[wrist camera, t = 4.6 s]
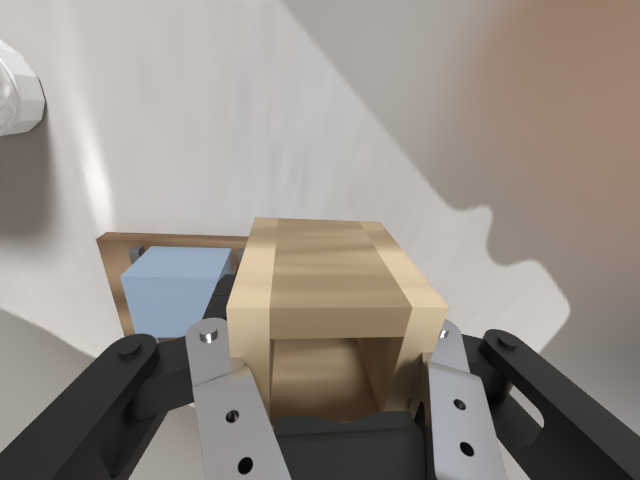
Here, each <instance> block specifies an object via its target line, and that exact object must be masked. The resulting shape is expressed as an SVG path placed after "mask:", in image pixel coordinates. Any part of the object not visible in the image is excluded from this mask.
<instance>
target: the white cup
mask: <svg viewBox="0 0 640 480" xmlns="http://www.w3.org/2000/svg"><path fill="white" fill-rule="evenodd" d="M44 105H45V98H44V95H43V92H42V89H41V85H40V82H39V79H38V77H37V75H36V74H35V73H34V71H33V70H32V69H31V67H30V66H29V65H28V63H27V62H26V61H25V59H24V58H23V57H22V55H21V54H20V53H18V52H17V51H16V50H14V49H13V48H12V47H10V46H9V45H7V44H6V43H5V42H3V41H2V40H1V39H0V136H5V135H12V134H18V133H24V132H29V131H30V130H31V129H32V128H33V127H34V126H35V125H37V124H38V123H39V122H40V121H41V120H42V116H43V110H44Z"/></svg>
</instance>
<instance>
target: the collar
mask: <svg viewBox="0 0 640 480" xmlns="http://www.w3.org/2000/svg"><path fill="white" fill-rule="evenodd" d="M448 309H449V306H448V305H447V304H446V303H445V301H444V300H443V299H442V298H441V297H440V295H439V294H438V293H437V292H436V290H435V289H434V288H433V287H432V286H431V284H430V283H429V282H428V281H427V279H426V278H425V277H424V276H423V275H422V273H421V272H420V271H419V270H418V268H417V267H416V266H415V265H414V263H413V262H412V261H411V260H410V259H409V257H408V256H407V255H406V254H405V252H404V251H403V250H402V249H401V248H400V246H399V245H398V244H397V243H396V241H395V240H394V239H393V238H392V237H391V235H390V234H389V233H388V232H387V230H386V229H385V228H384V227H383V225H382V224H381V223H380V222H362V221H335V220H308V219H282V218H255V220H254V223H253V226H252V229H251V232H250V235H249V238H248V241H247V244H246V248H245V251H244V254H243V257H242V260H241V263H240V266H239V269H238V272H237V276H236V279H235V282H234V285H233V288H232V291H231V294H230V297H229V300H228V304H227V307H226V313H227V324H228V336H229V348H230V357H241V358H242V360H243V363H244V366H245V367H246V366H248V367H249V368H250V370H251V373H252V375H253V378H254V381H255V383H256V386H257V389H258V391H259V394H260V397H261V399H262V402H263V405H264V407H265V410H266V413H267V415H268V418H269V421H270V423H271V426H272V429H273V430H275V418H277V417H295V416H314V417H318V418H323V419H328V420H332V421H337V422H342V423H349V422H352V421H355V420H358V419H361V418H363V417H366V416H369V415H372V414H375V413H377V412H389V411H405V405H406V401H407V398H412V397H413V396H414V393H415V390H416V387H417V384H418V378H419V362H420V359H421V355H422V352H434V349H435V346H436V343H437V340H438V337H439V335H440V332H441V329H442V326H443V323H444V320H445V317H446V315H447V312H448Z"/></svg>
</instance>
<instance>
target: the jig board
mask: <svg viewBox="0 0 640 480" xmlns="http://www.w3.org/2000/svg"><path fill="white" fill-rule="evenodd" d="M248 238H249V237H240V236H208V235H177V234H145V233H113V232H106V233H105V234H103V235H102V236H100V237H99V238H97V239H96V240H97V244H98V247H99V250H100V254H101V257H102V261H103V264H104V267H105V271H106V274H107V278H108V281H109V285H110V288H111V291H112V295H113V298H114V302H115V305H116V308H117V312H118V315H119V319H120V322H121V325H122V329H123V332H124V336H125V337H126V336H129V335H133V334H135V330H134V326H133V323H132V319H131V315H130V311H129V308H128V304H127V300H126V297H125V293H124V289H123V286H122V282H121V278H120V276H121V275H122V274H123V273H124V272H125V271H126V270H127V269H128V268H129V267H130V266H131V265H132V264H133V263H134V262H136V261H137V260H138V259H139V258H140V257H141V256H142V255H143V254H144V253H145V252H146V251H147V250H148V249H149V248H150V247H151V246H164V247H203V248H232V263H233V274H235V272H236V269H237V266H238V264H239V263H241V260H242V257H243V254H244V251H245V248H246V244H247V241H248ZM177 338H180V337H165V338H155V339H156V341H157V343H161V342H165V341H170V340H174V339H177Z"/></svg>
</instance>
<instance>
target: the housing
mask: <svg viewBox="0 0 640 480" xmlns="http://www.w3.org/2000/svg"><path fill="white" fill-rule="evenodd" d="M225 274H233V263H232V248H203V247H164V246H151V247H150V248H149V249H148V250H147V251H146V252H145V253H144V254H143V255H142V256H141V257H140V258H139V259H138V260H137V261H136V262H134V263H133V264H132V265H131V266H130V267H129V268H128V269H127V270H126V271H125V272H124V273H123V274H122V275H121V276H120V278H121V282H122V286H123V289H124V293H125V297H126V300H127V304H128V308H129V311H130V315H131V319H132V323H133V326H134V330H135V334H141V333H142V334H149V335H152V336H153V337H154V338H165V337H183V336H185V335H186V333H187V331H188V329H189V328H190V327H191V326H192V325H193V324H195V323H197V322H198V321H201V320H202V317H203V315H204V313H205V310H206V308H207V306H208V303H209V301H210V298H211V297H212V294H213V291H214V290H215V287H216V284H217V282H218V280H220V279H221V278H222V277H223V276H224V275H225Z"/></svg>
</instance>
